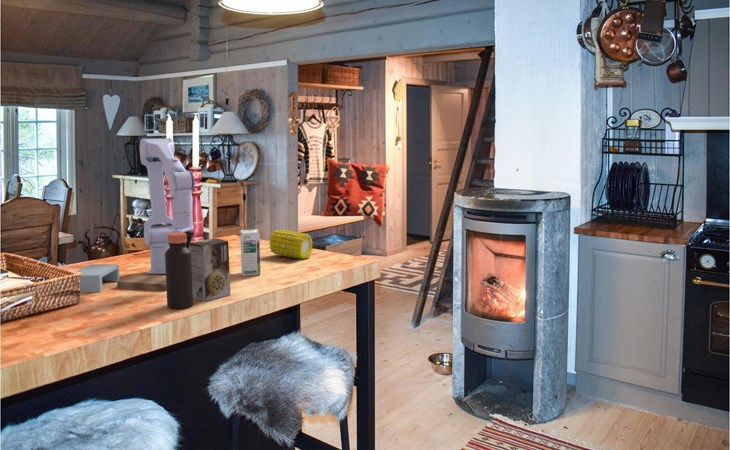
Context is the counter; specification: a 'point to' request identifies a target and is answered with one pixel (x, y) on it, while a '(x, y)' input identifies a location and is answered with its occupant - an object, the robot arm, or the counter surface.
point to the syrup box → (250, 252)
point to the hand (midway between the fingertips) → (184, 256)
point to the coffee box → (210, 269)
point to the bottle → (178, 272)
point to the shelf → (97, 276)
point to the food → (291, 244)
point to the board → (143, 283)
